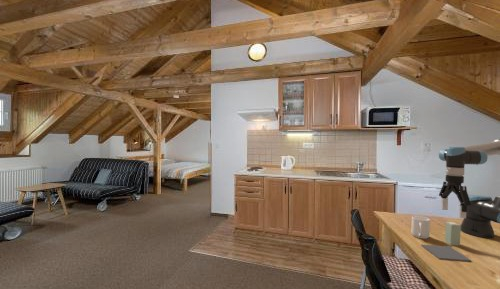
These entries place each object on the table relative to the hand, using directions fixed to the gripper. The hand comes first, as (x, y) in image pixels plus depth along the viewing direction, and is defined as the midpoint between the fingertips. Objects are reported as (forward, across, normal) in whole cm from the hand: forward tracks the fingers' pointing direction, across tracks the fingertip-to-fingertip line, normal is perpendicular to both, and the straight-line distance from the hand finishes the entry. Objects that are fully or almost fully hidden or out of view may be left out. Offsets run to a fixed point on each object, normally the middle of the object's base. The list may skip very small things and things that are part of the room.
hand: (453, 213), depth 128 cm
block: (+17, 0, 0) cm, 17 cm away
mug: (+17, -6, -13) cm, 22 cm away
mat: (+16, +13, -12) cm, 24 cm away
